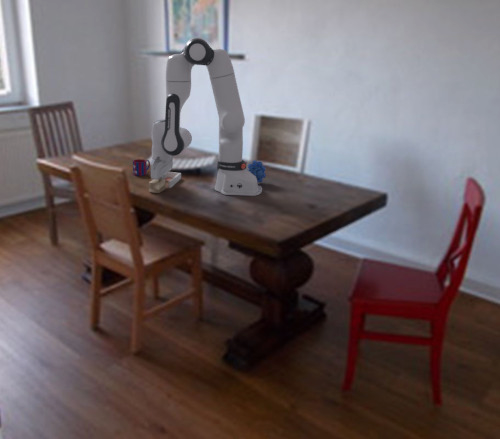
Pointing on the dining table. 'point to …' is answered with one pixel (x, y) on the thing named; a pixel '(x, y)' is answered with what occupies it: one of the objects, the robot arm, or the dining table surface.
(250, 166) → the grapes
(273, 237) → the dining table surface
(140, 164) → the mug
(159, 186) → the block
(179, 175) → the white u-shaped frame
